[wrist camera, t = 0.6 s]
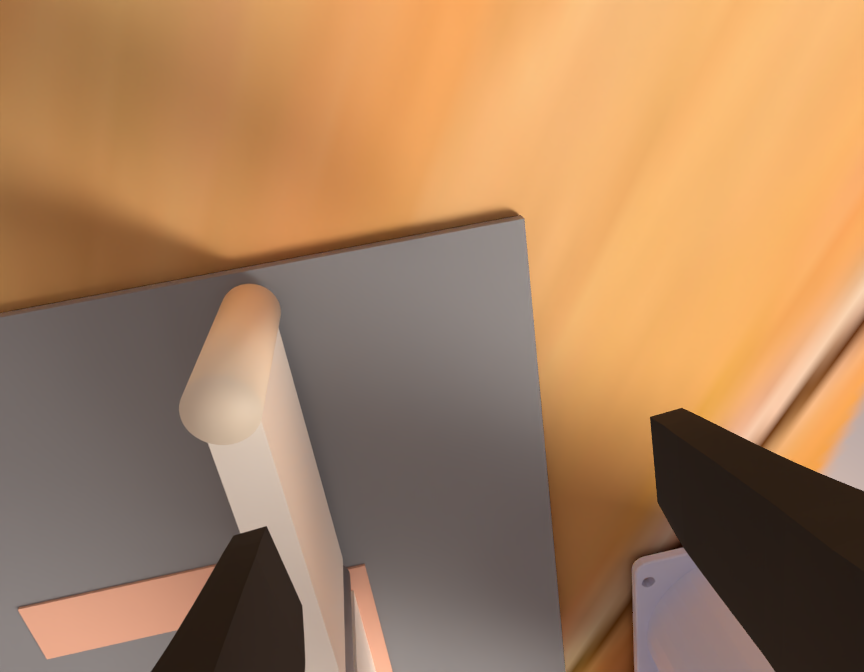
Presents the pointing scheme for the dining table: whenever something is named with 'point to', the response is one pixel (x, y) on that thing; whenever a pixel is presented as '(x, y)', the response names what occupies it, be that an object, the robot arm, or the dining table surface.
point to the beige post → (271, 463)
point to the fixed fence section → (360, 641)
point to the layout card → (331, 443)
